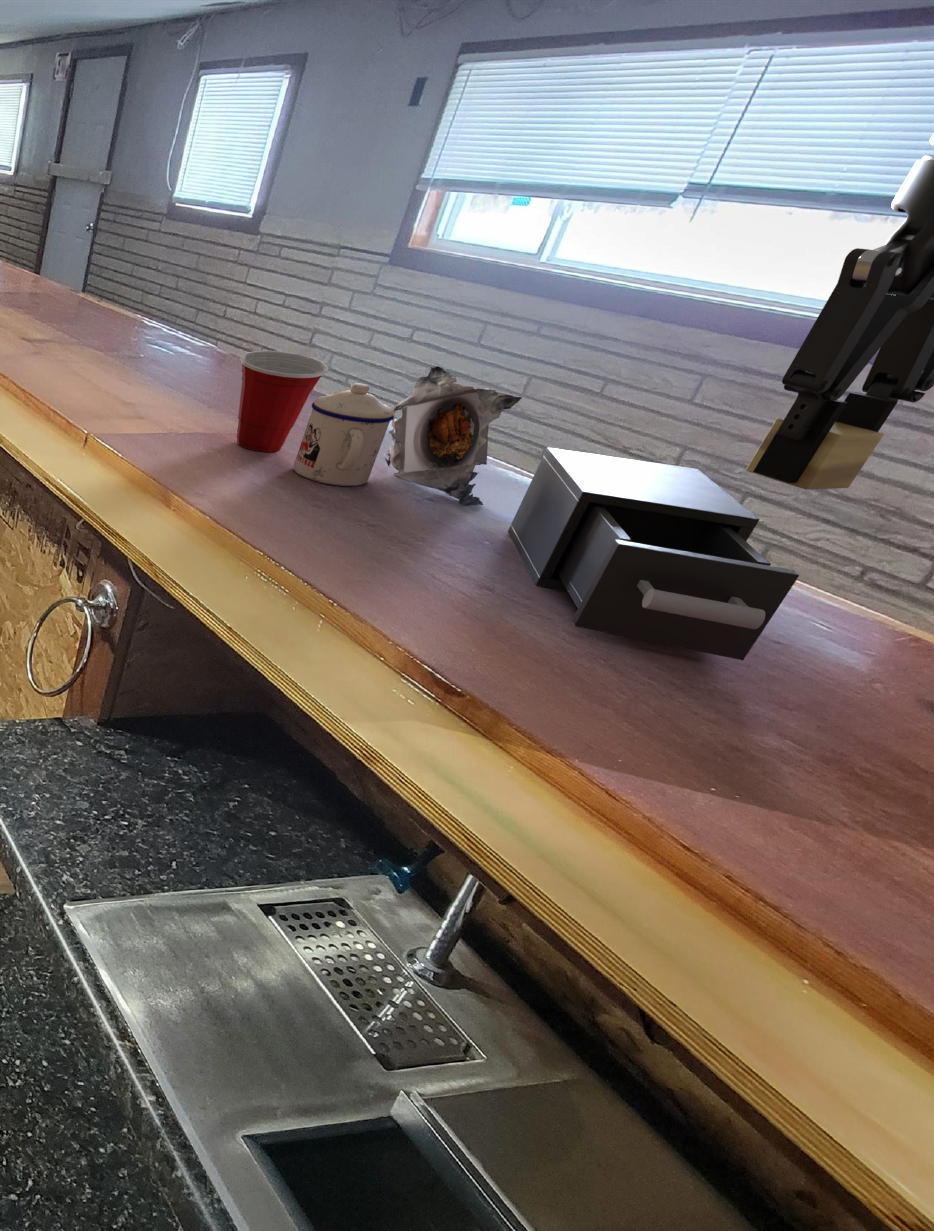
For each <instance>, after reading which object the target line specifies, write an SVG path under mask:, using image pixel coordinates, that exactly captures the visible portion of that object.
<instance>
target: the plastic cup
mask: <svg viewBox="0 0 934 1231" xmlns="http://www.w3.org/2000/svg"><path fill="white" fill-rule="evenodd" d="M239 361H240V362H241V373H242V374H241V388H240V397H239V406H238V416H237V419H238V421H237V422H238V423H237V428H236V429H237V430H236V444H237V445H238V446H240V447H241V448H244V449H247V448H248V450H251V451H255V450H258V451H257V452H261V451H262V452H263V453H276V452H280V450H281V449H282V447H283V446H284V444H285V442H286V441H287V438H288V437H289V434H290V432H291V431H292V429H293V428H294V426H295V424H296V422H297V420H298V418H299V417H300V415H301V412H302V410H303V409H304V407H305V404H306V403H307V401H308V399H309V397H310V395H311V394H312V392H313V390H314V389H315V387H316V385H317V384H318V382H319V380H320V379H321V378H322V377H323V376H325V375H326V373H327V371H328V370H329V366H328V365H327V364H326V362H323V361H321V360H320V359H317V358H314V357H311V356H309V355H303V354H301V353H300V354H299V353H294V352H289V351H282V350H281V351H280V350H252V351H248V352H245V353H243V354H241V356H240V358H239Z"/></svg>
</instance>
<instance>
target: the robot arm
mask: <svg viewBox="0 0 934 1231" xmlns="http://www.w3.org/2000/svg"><path fill="white" fill-rule="evenodd" d="M928 142H929V143H930V144H931V145H932V146H934V133H933V134H932V136H931V137H930V139H929V140H928ZM890 207H891V209H892V210H893V211H894V212H896V213H897V212H898V213H904V214H905V213H906V218H905V219H904V221H903V222H902V223H901V224H900V226H899V227H898V228H897V229H896V230H895V231H894V232H893V233H892V234H891V235H890V236H889V238H888V239H887V240H886V242H885V243H884V245H881V246H878V247H875V248H874V249H869V248H857V247H856V248H854V249H852V250H850V252H849V253H847V255H846V256H845V259H844V261H843V263H842V268H841V271H840V273H839V277H838V280H837V283H836V284H835V286H834V288H833V290H832V292H831V293H830V295H829V297H828V299H827V301H826V303H825V304H824V306H823V307H822V309H821V311H820V312H819V315H818V316H817V317H816V319H815V321H814V323H813V324H812V327H811V328H810V330H809V332H808V333H807V335H806V336H805V339H804V341H803V342H802V344H801V346H800V348H799V349H798V351H797V352H796V354H795V356H794V358H793V360H792V361H791V363H790V365H789V367H788V369H787V370H786V372H785V374H784V375H783V377H782V379H781V383H782V385H783V389H784V390H785V391H787V392H792V393H797V396H796V399H795V400H794V402H793V403H792V405H791V407H790V409H789V411H788V412H787V414H786V415H785V417H784V418H785V419H784V420H783V422H782V424H781V425H780V427H779V429H778V431H777V432H776V434H775V436H774V437H773V439H772V441H771V442H770V444H769V446H768V447H767V449H766V451H765V452H764V454H763V456H762V457H761V459H760V461H759V462H758V464H757V466H756V467H755V469H754V471H753V472H755V473H758V474H761V475H765V476H768V477H771V478H774V479H778V480H781V481H784V482H787V483H797V482H798V480H799V478H800V477H801V475H802V474H803V472H804V470H805V469H806V467H807V466H808V464H809V462H810V461H811V459H812V458H813V456H814V454H815V453H816V451H817V450H818V448H819V447H820V445H821V443H822V442H823V440H824V439H825V437H826V435H827V434H828V432H829V431H830V430H831V428H832V426H833V425H834V423H835V422H840V423H844V424H848V425H852V426H855V427H859V428H863V429H867V430H871V431H875V432H880V430H881V428H882V427H883V425H884V424H885V422H886V421H887V419H888V417H889V416H890V415H891V414H892V412H893V410H894V409H895V407H896V406H897V404H898V402H899V401H904V402H908V403H917V402H920V401H921V400H922V398H923V397H925V395H926V392H927V391H929V390H930V389H932V388H933V387H934V154H933V155H932V154H931V155H930V154H925V155H923V156H922V158H921V159H916V161H915V163H914V164H913V166H912V168H911V169H910V171H909V172H908V174H907V176H906V178H905V180H904V181H903V183H902V185H901V186H900V188H899V190H898V191H897V193H896V194H895V197H894V199H893V200H892V201H891V206H890ZM875 355H876V357H875V359H874V360H873V363H872V365H871V367H870V370H869V372H868V374H867V376H866V379H865V381H864V383H863V385H862V388H861V391H862V392H863V393H860V392H849V393H848V394H847V396H846V398H845V399H844V400H839V399H840V398H841V397H842V396H843V395H845V393H846V392H847V390H848V389H849V388H850V387H851V385H852V384H853V383H854V382H855V380H856V379H857V377H859V375H860V374H861V373H862V371H863V370H864V369H865V367H866V366H867V365H868V364H869V363H870V361H871V360H872V359H873V357H874V356H875ZM755 473H754V474H755ZM758 474H757V475H758ZM761 475H760V476H761ZM771 478H770V479H771ZM774 479H773V480H774Z"/></svg>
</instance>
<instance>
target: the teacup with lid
mask: <svg viewBox="0 0 934 1231" xmlns="http://www.w3.org/2000/svg"><path fill="white" fill-rule="evenodd" d="M369 391H370V385H368V384H365V383H360V382H355V383H353V384H351V386H350V389H349V390H341V391H339V392H336V393H333V394H330V395H329V394H327V395H322V396H319V397H316V398H315V400H313V402H312V403H311V408H312V409H311V413H310V415H309V418H308V422H307V425H306V428H305V430H304V434H303V437H302V439H301V443H300V446H299V449H298V452H297V456H296V458H295V461H294V463H293V464H294V465H293V470H294V471H295V473H297V474H298V475H299V476H301V477H303V478H306V479H307V480H311V481H314V482H317V483H321V484H325V485H332V486H339V487H358V486H362V485H364V484H366V483H367V482H368V481H369V478H370V476H371V473H372V470H373V468H374V465H375V462H376V459H377V457H378V454H379V452H380V449H381V446H382V444H383V442H384V439H385V436H386V433H387V430H388V428H389V425H390V423H391V422H392V420H393V418H394V419H395V417H394V412H393V410H394V409H393V408H392V407H390V406H389V405H388V404H385V403H382V402H381V401H380V400H379V398H377V397H376V396H375V395H373V394H371V393H369Z"/></svg>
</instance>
